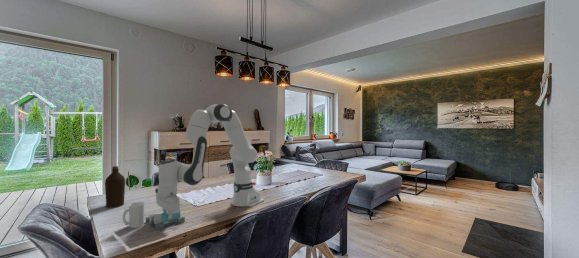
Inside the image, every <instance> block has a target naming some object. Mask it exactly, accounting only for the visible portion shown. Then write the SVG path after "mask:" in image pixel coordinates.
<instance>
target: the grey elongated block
mask: <svg viewBox="0 0 579 258" xmlns="http://www.w3.org/2000/svg"><path fill="white" fill-rule="evenodd" d="M161 213H163V211H160V212H158V213H152V214H149V215H148V217H149V223H150V221H152V220H154V215H156V214H161Z"/></svg>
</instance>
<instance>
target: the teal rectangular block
mask: <svg viewBox="0 0 579 258" xmlns="http://www.w3.org/2000/svg"><path fill="white" fill-rule="evenodd" d="M160 213H161V212H160ZM155 214H156V215H154V224H159V223H162V222H163V223H164V222H168V221H171V220H175V219H177V218H180V217H181V210H180V211H179V212H178V213H174V214H172V218H171V219H168V218H167V215H168V212H165V213H161V214H157V213H155Z"/></svg>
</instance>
